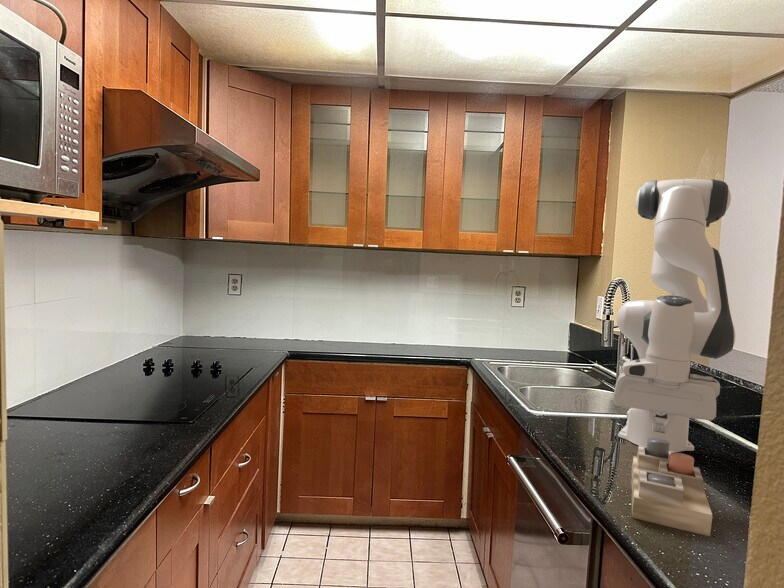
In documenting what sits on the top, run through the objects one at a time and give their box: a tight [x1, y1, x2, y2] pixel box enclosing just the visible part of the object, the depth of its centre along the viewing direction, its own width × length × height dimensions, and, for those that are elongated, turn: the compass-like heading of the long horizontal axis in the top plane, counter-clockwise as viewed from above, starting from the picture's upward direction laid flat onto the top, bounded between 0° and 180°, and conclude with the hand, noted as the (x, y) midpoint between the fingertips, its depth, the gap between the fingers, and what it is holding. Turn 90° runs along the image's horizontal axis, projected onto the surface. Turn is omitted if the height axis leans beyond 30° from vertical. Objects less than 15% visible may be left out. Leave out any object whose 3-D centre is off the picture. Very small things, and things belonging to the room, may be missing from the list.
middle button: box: [668, 452, 695, 475], centre depth 110 cm, size 4×4×3 cm
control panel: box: [631, 445, 713, 537], centre depth 111 cm, size 25×13×7 cm, turn 156°
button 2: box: [648, 474, 674, 486], centre depth 105 cm, size 4×4×3 cm
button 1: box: [646, 438, 670, 458], centre depth 119 cm, size 4×4×3 cm
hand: (659, 431), depth 119 cm, fingers closed
